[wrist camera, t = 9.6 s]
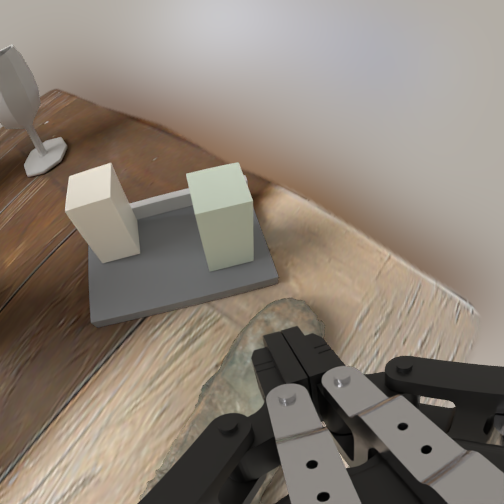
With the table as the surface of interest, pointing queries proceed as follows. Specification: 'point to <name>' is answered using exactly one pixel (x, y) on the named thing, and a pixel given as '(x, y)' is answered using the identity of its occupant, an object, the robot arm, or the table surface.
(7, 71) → the wineglass
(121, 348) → the table surface
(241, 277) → the tile board
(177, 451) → the elongated rock
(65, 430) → the table surface
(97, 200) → the white block
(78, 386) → the table surface
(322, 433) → the robot arm
